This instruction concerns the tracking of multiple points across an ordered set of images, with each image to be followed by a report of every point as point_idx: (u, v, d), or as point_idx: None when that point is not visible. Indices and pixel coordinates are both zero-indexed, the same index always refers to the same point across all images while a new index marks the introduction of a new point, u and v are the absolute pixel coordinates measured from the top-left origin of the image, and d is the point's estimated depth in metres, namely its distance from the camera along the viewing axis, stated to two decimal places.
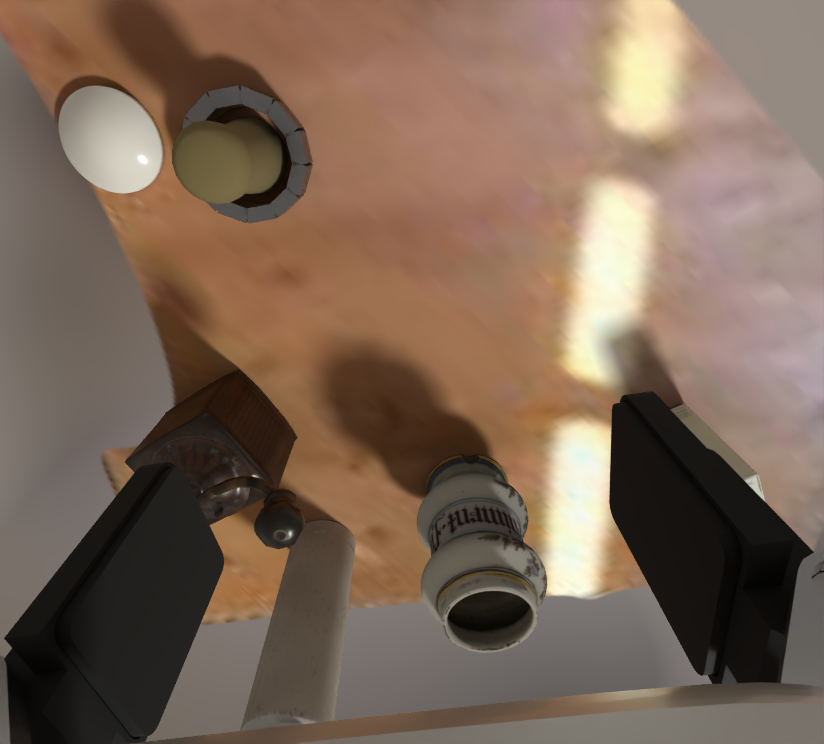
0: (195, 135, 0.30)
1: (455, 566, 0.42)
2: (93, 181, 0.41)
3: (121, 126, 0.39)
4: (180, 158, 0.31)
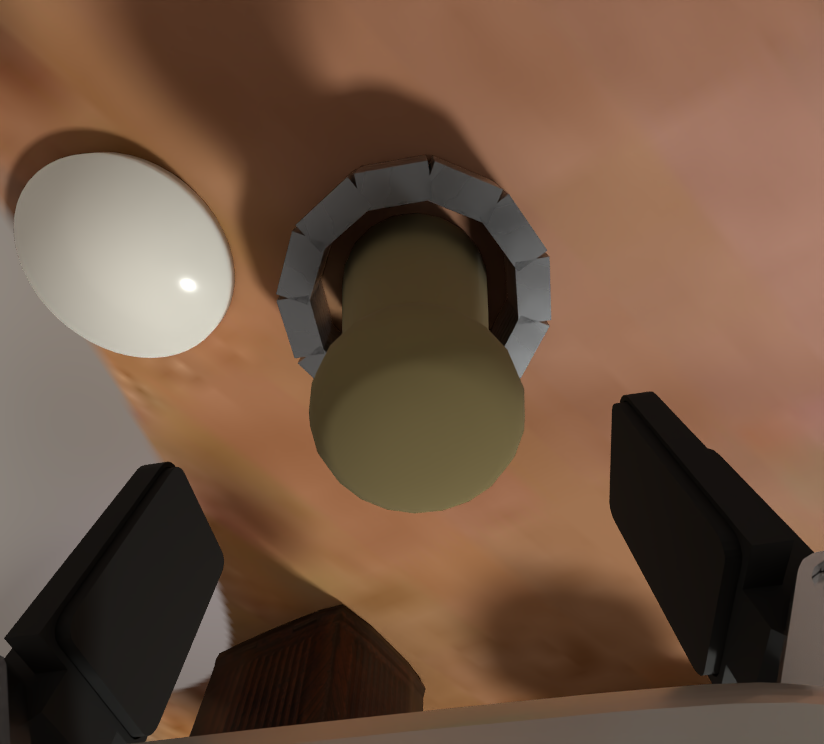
0: (401, 377, 0.10)
1: None
2: (91, 337, 0.20)
3: (148, 236, 0.18)
4: (345, 432, 0.10)
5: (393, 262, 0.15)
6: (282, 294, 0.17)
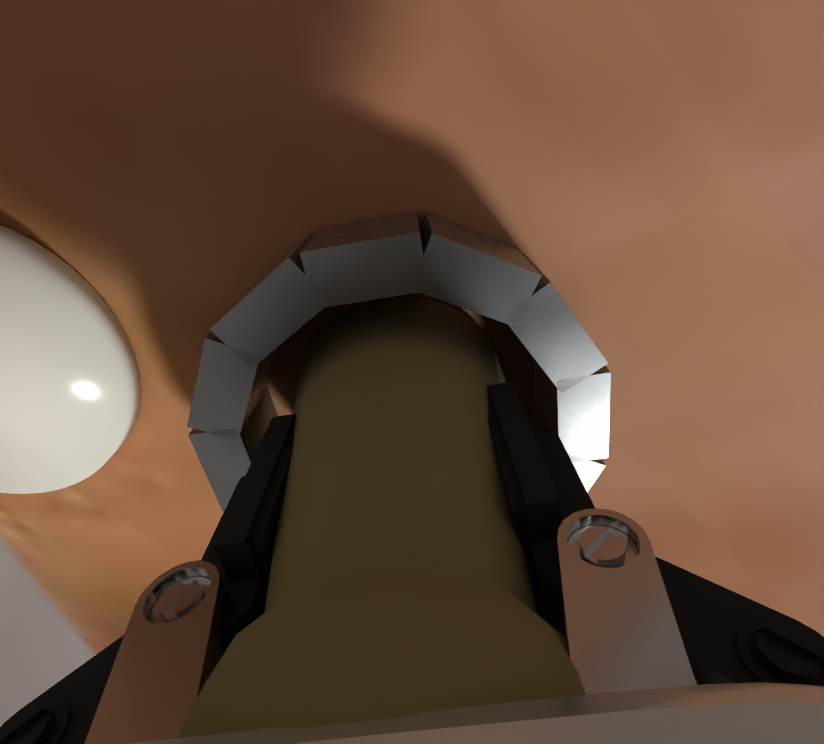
0: None
1: None
2: None
3: None
4: None
5: (361, 406, 0.09)
6: (197, 426, 0.11)
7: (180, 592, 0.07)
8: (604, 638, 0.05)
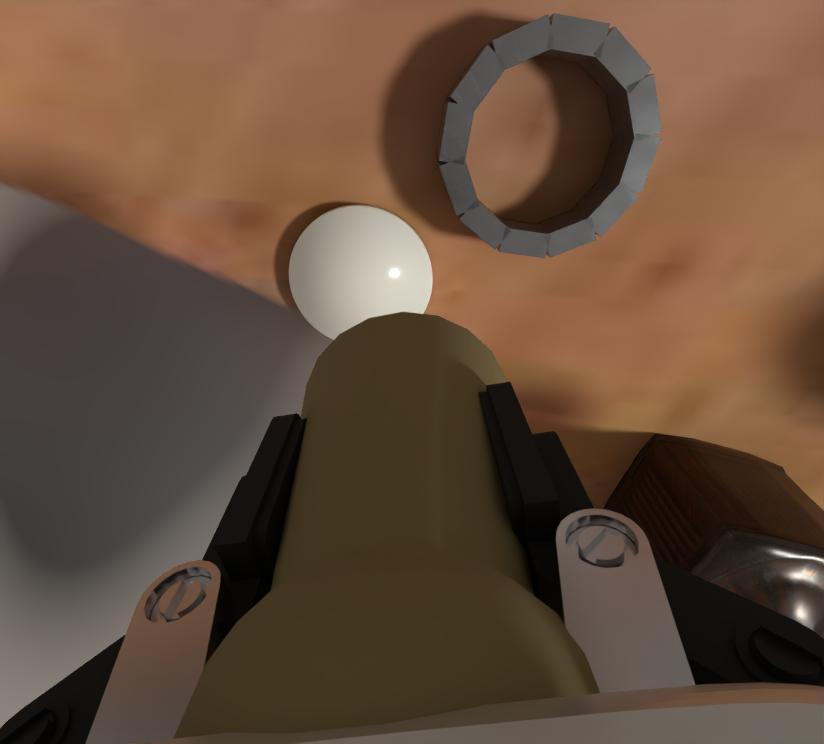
0: None
1: None
2: None
3: (362, 251, 0.26)
4: None
5: (359, 411, 0.09)
6: (460, 212, 0.23)
7: (181, 591, 0.07)
8: (603, 638, 0.05)
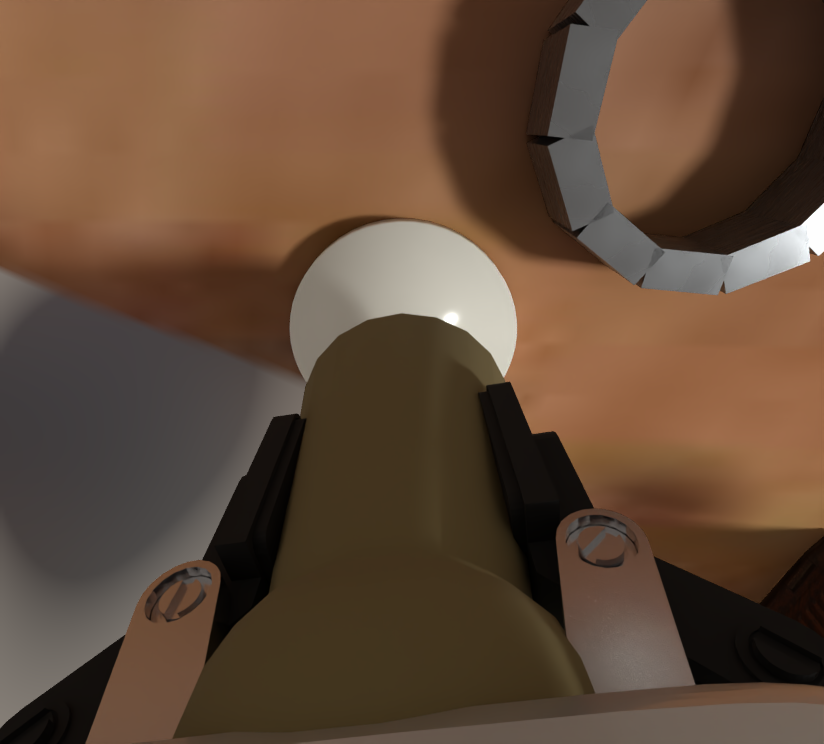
0: None
1: None
2: None
3: (406, 293, 0.16)
4: None
5: (357, 414, 0.09)
6: (579, 225, 0.14)
7: (181, 591, 0.07)
8: (603, 638, 0.05)
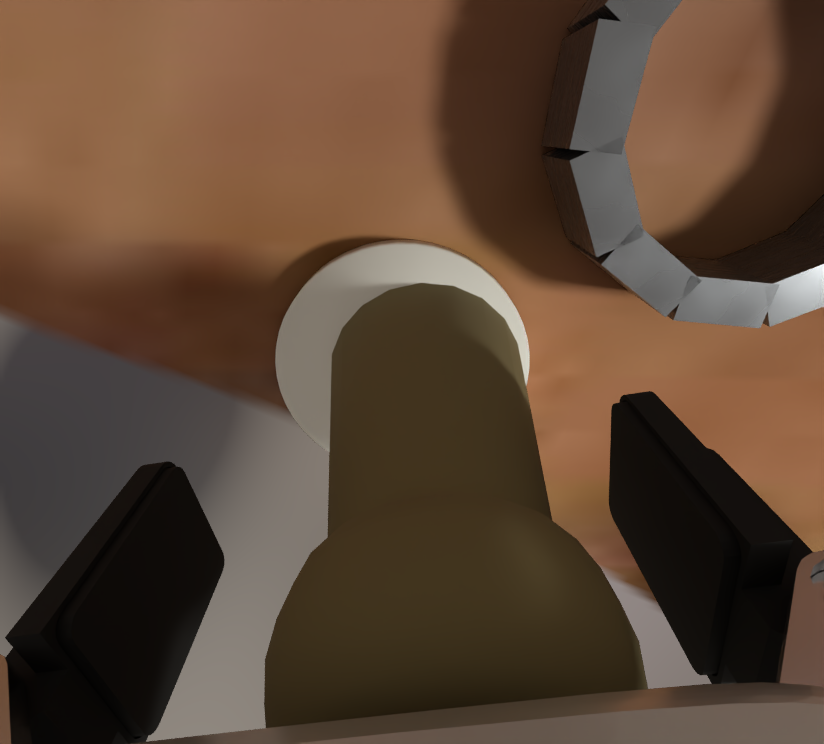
0: None
1: None
2: None
3: None
4: None
5: (392, 377, 0.10)
6: (604, 251, 0.12)
7: None
8: None
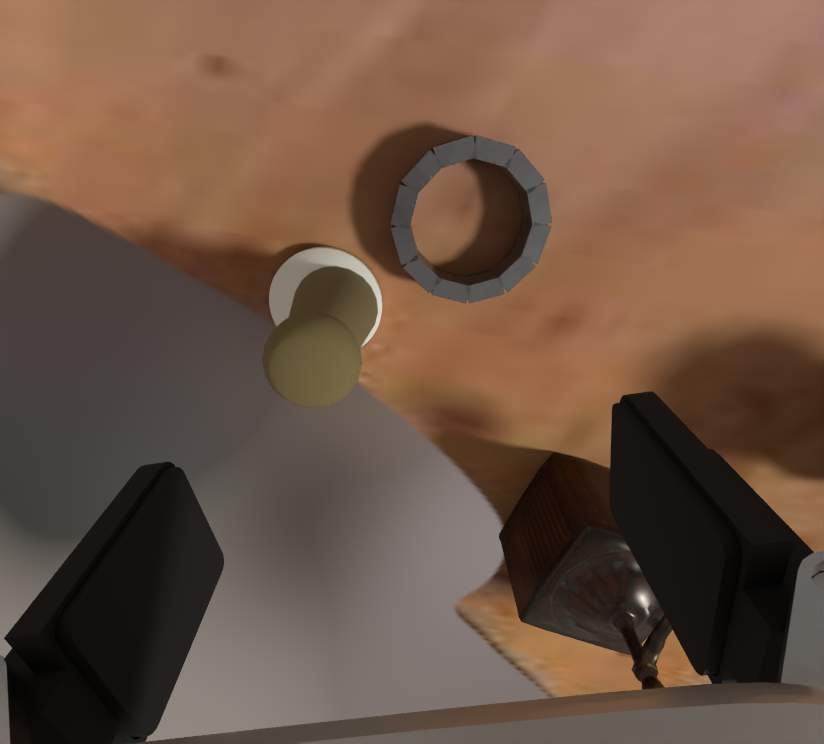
0: (299, 340, 0.24)
1: None
2: None
3: None
4: (276, 363, 0.24)
5: (314, 293, 0.29)
6: (403, 263, 0.31)
7: None
8: None
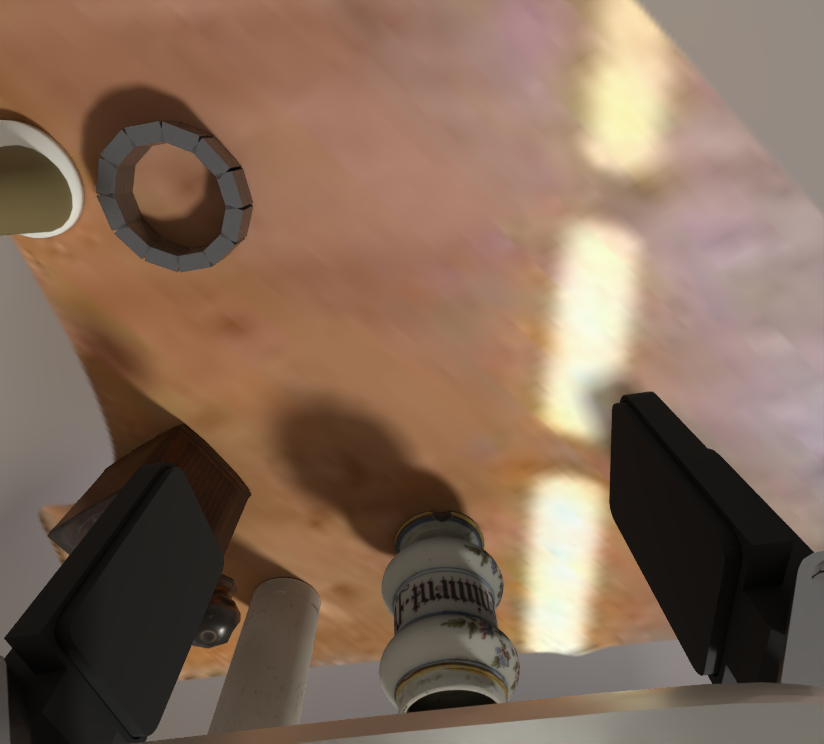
0: None
1: (414, 657, 0.37)
2: None
3: None
4: None
5: None
6: (99, 192, 0.34)
7: None
8: None
